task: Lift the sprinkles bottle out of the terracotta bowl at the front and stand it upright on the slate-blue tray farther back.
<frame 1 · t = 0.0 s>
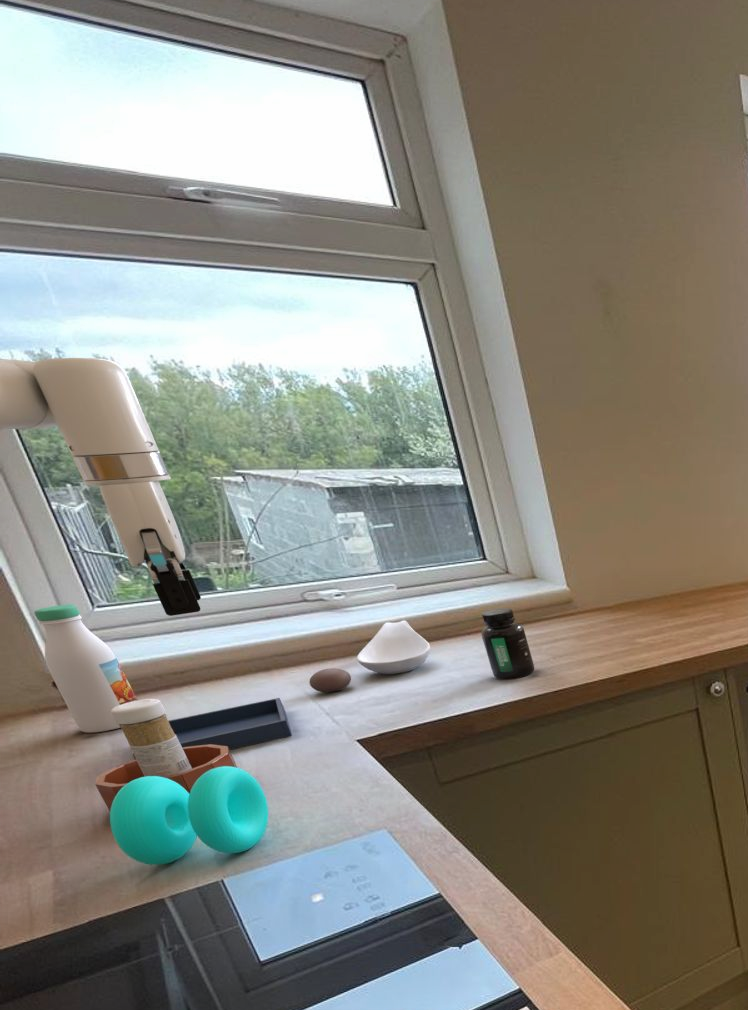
hand: (185, 607, 105), 24 cm above the worktop, tool pointing down, fingers open, 9 cm apart
supplement bottle: (515, 675, 152), on the worktop
egg: (334, 691, 147), on the worktop
sprinkles bottle: (181, 799, 108), resting in bowl
tray: (219, 738, 127), on the worktop
bowl: (181, 798, 107), on the worktop
milk bottle: (114, 725, 135), on the worktop
donuts: (213, 854, 94), on the worktop
spoon rest: (402, 663, 162), on the worktop
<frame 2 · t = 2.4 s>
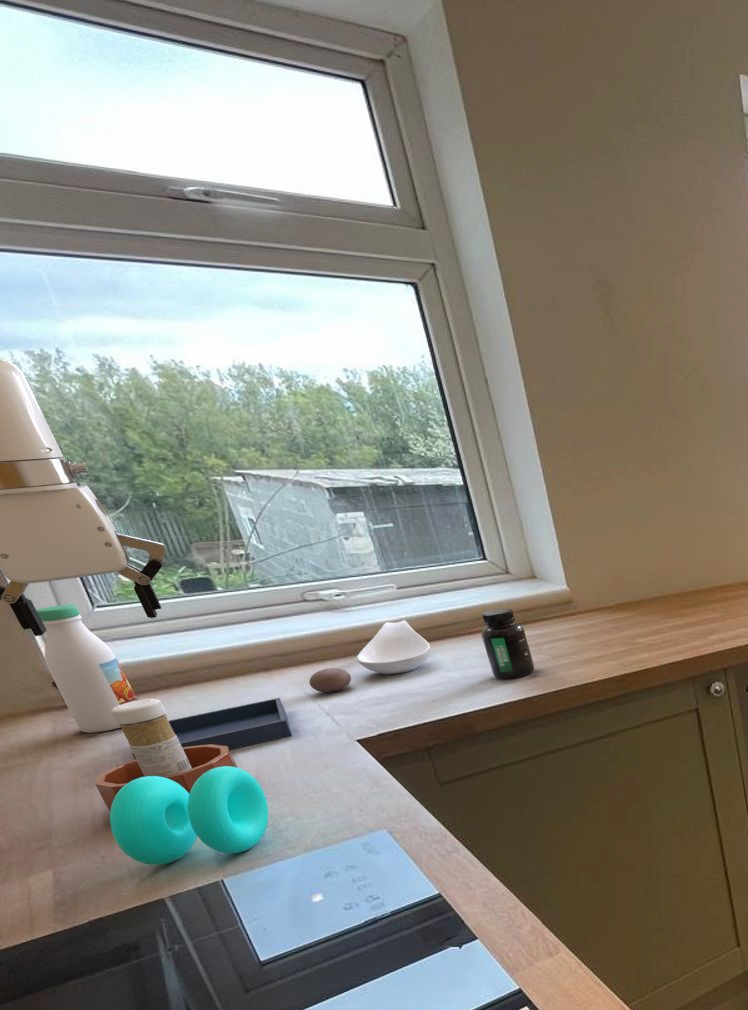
hand: (98, 624, 98), 24 cm above the worktop, tool pointing down, fingers open, 9 cm apart
nothing on the worktop moved.
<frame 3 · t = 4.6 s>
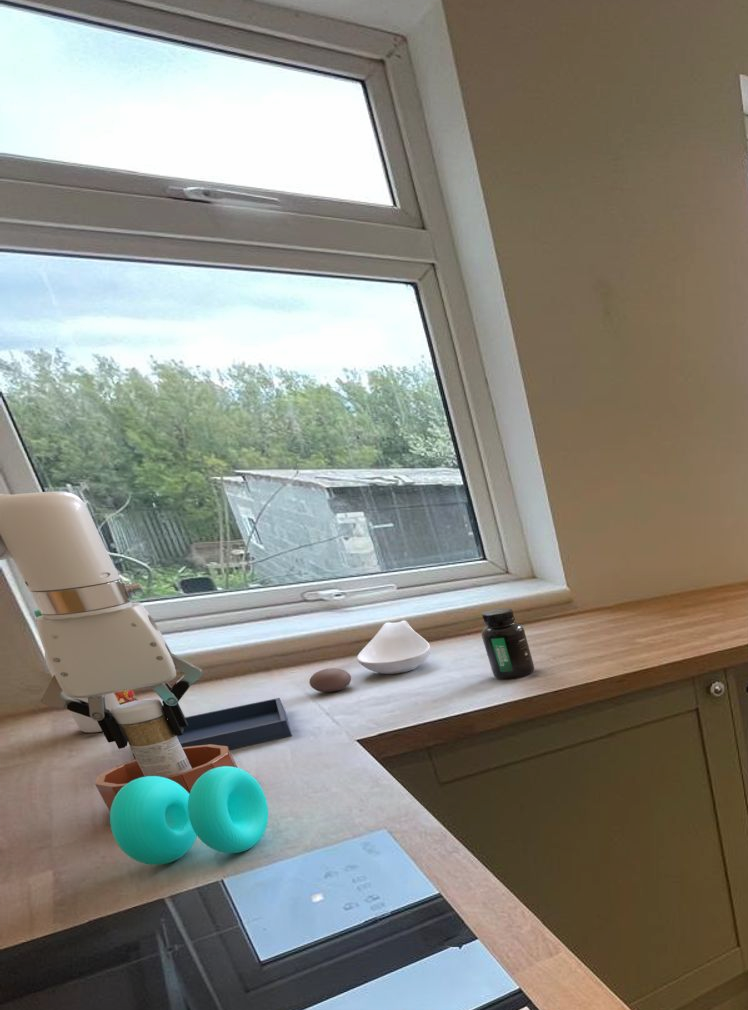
hand: (151, 737, 104), 9 cm above the worktop, tool pointing down, fingers closed on sprinkles bottle, 4 cm apart
sprinkles bottle: (181, 799, 108), resting in bowl, touching gripper
everything else where it was.
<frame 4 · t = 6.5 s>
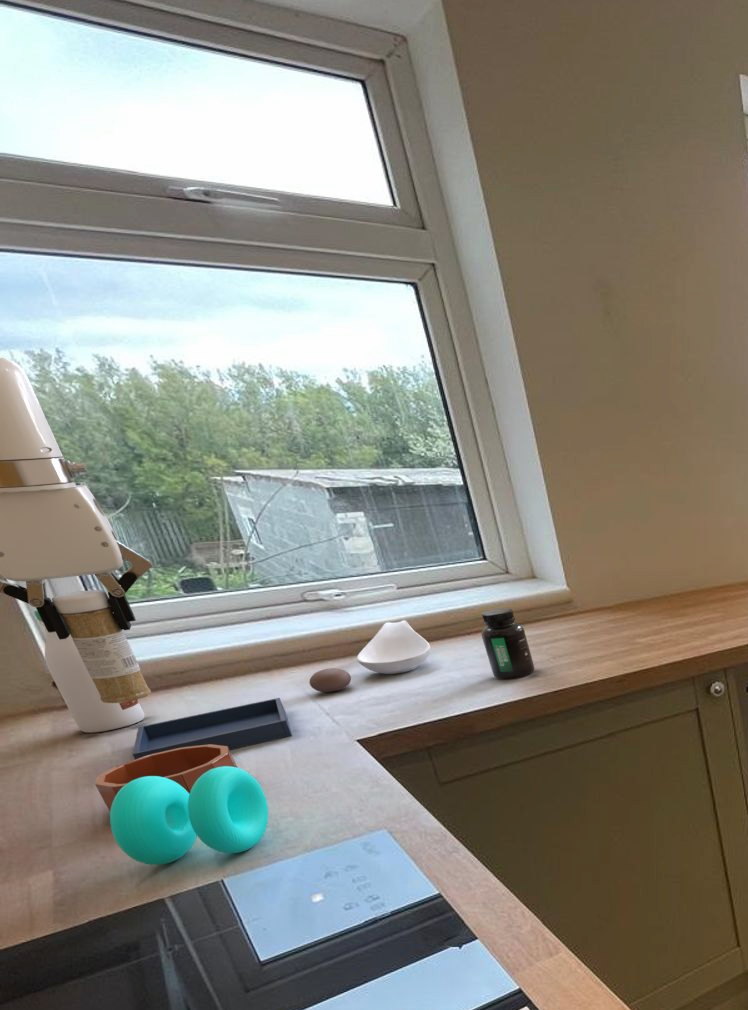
hand: (95, 631, 99), 23 cm above the worktop, tool pointing down, fingers closed on sprinkles bottle, 4 cm apart
sprinkles bottle: (128, 700, 102), point 14 cm above the worktop, touching gripper
everything else where it was.
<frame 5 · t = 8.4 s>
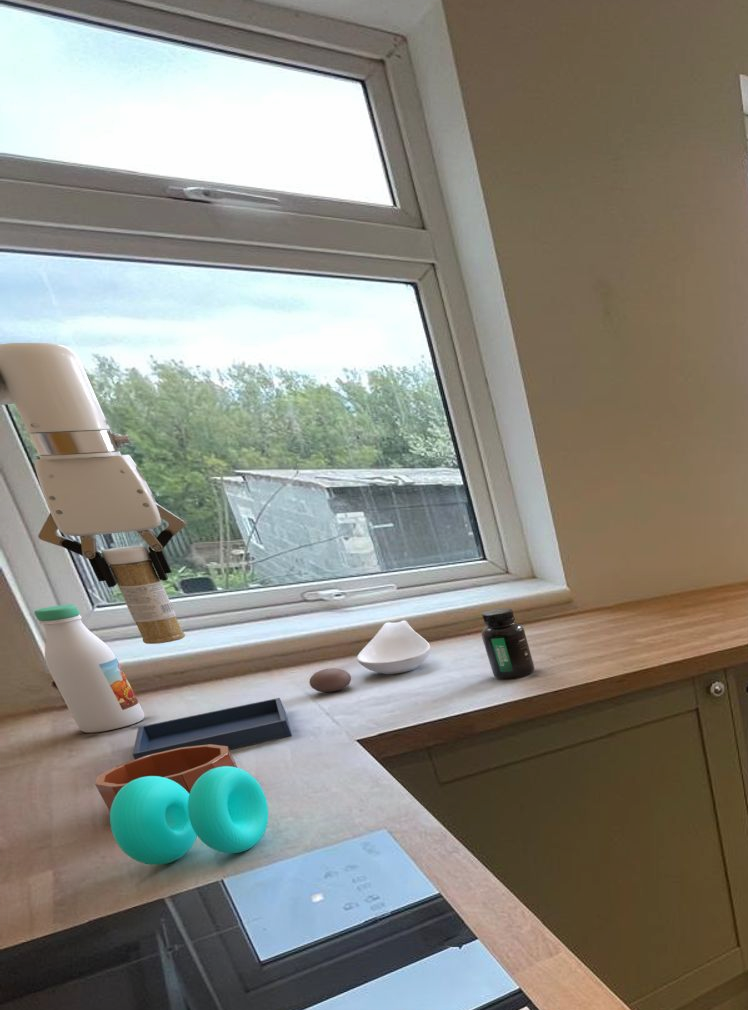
hand: (138, 581, 115), 26 cm above the worktop, tool pointing down, fingers closed on sprinkles bottle, 4 cm apart
sprinkles bottle: (166, 642, 118), point 17 cm above the worktop, touching gripper
everything else where it was.
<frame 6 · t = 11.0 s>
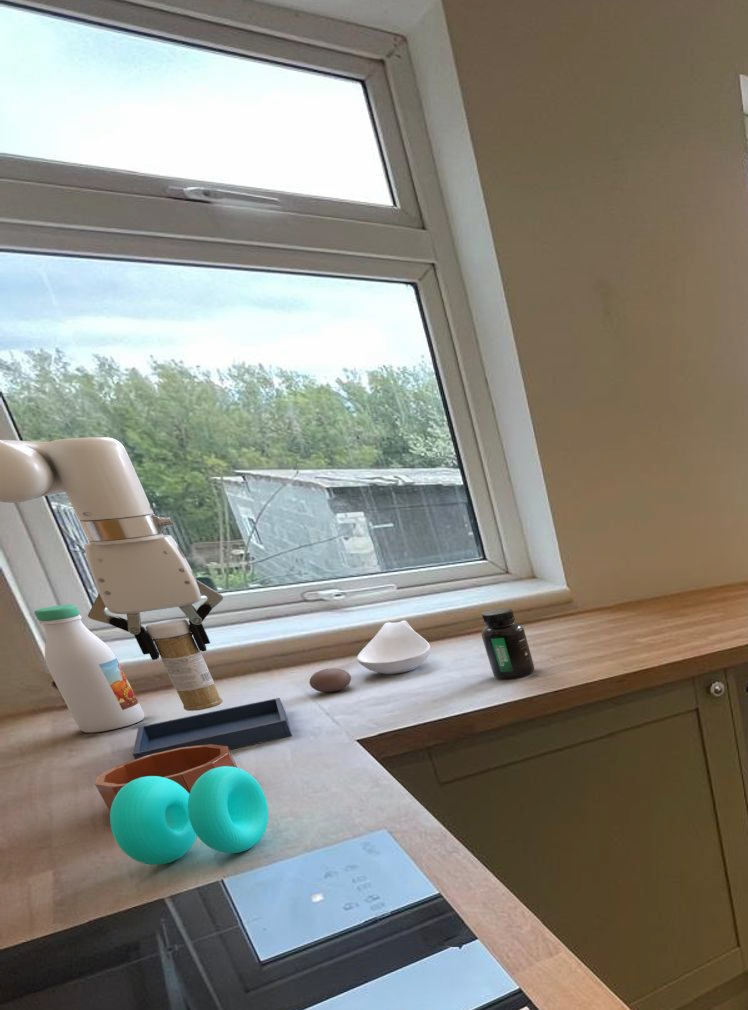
hand: (179, 652, 122), 14 cm above the worktop, tool pointing down, fingers closed on sprinkles bottle, 4 cm apart
sprinkles bottle: (204, 707, 125), point 5 cm above the worktop, touching gripper
everything else where it was.
when the fingers open (9 cm above the worktop, at t = 12.6 s): sprinkles bottle stays where it is, resting on tray.
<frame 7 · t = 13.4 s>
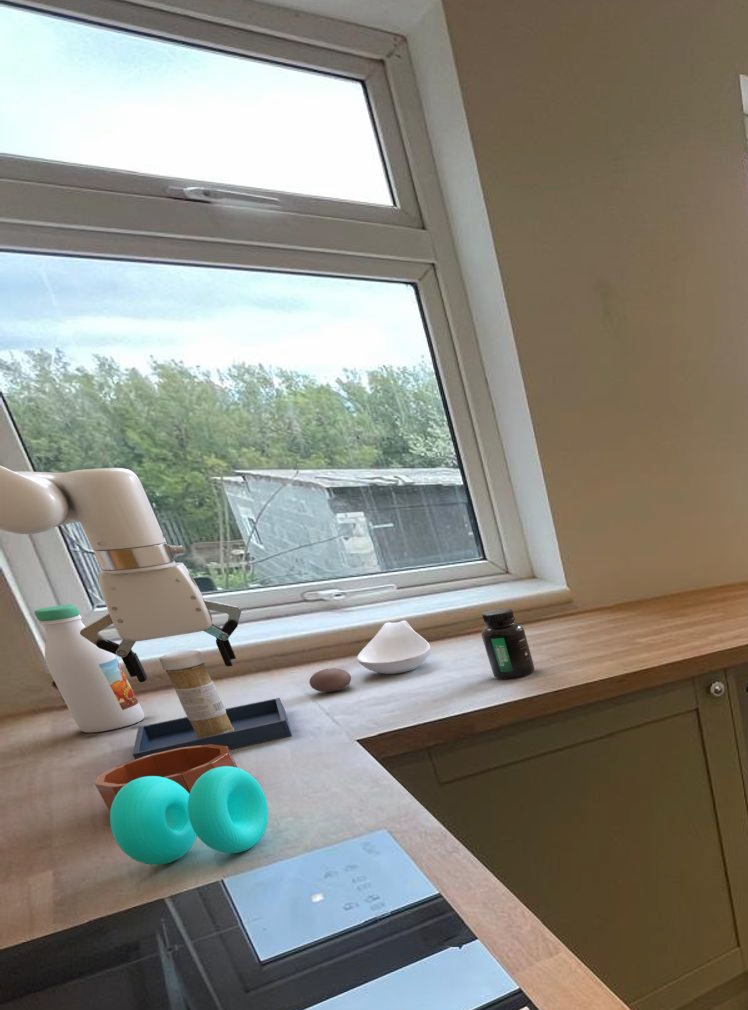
hand: (187, 672, 123), 11 cm above the worktop, tool pointing down, fingers open, 9 cm apart
sprinkles bottle: (217, 736, 127), resting on tray
everything else where it was.
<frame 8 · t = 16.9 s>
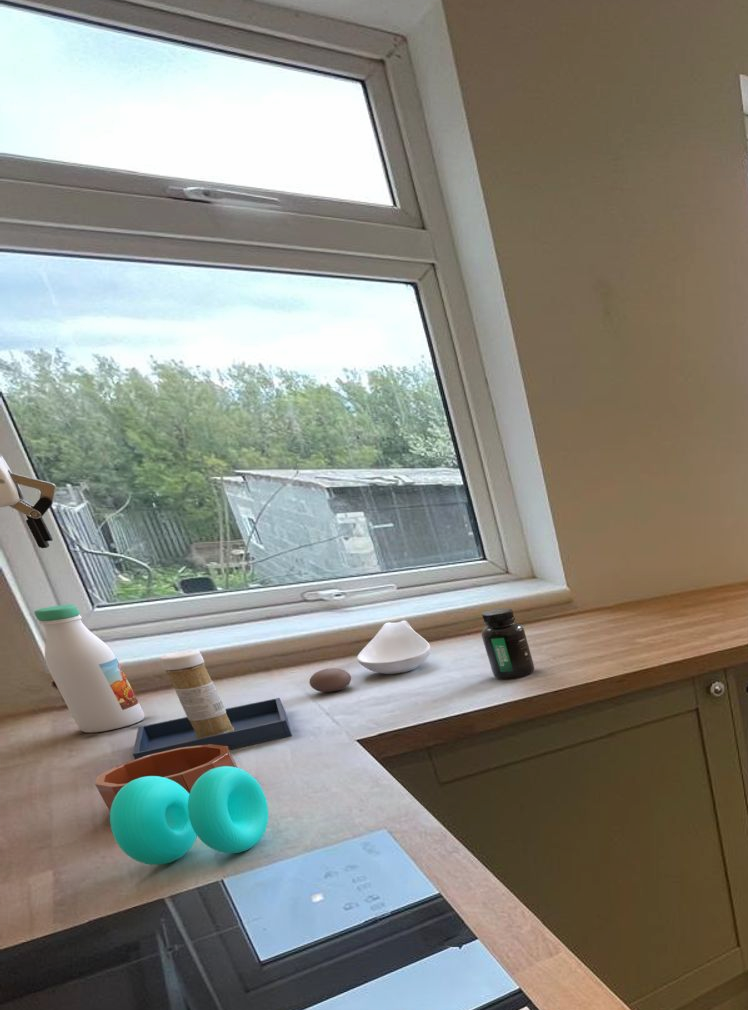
nothing on the worktop moved.
at the end: sprinkles bottle inside the target area in the tray (0.1 cm from its centre), point 0.4 cm above the tray's base; sprinkles bottle tilted 0° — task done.
